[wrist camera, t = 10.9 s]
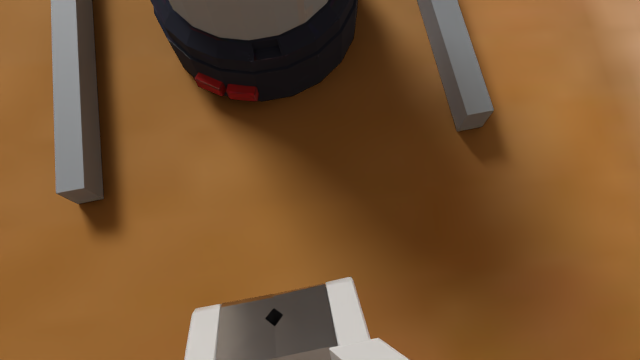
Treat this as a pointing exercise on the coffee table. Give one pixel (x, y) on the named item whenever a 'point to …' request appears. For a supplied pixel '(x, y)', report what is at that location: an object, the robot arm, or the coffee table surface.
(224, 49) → the humidifier
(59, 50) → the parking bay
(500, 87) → the coffee table surface
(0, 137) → the coffee table surface
